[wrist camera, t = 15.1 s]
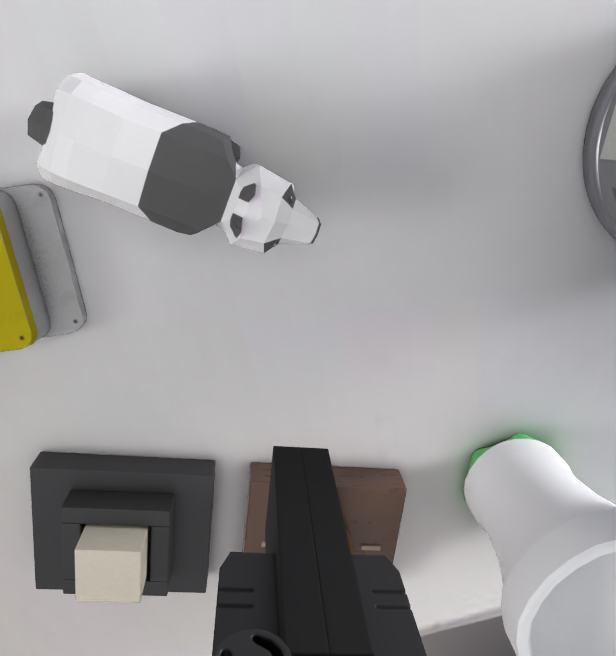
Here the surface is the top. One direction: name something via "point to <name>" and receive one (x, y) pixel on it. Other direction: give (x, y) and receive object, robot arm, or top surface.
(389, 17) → the top surface
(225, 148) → the giant panda
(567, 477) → the cup
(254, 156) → the top surface
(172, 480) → the grey stepped base
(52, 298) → the emergency button
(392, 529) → the volume panel
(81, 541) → the cream square push button
